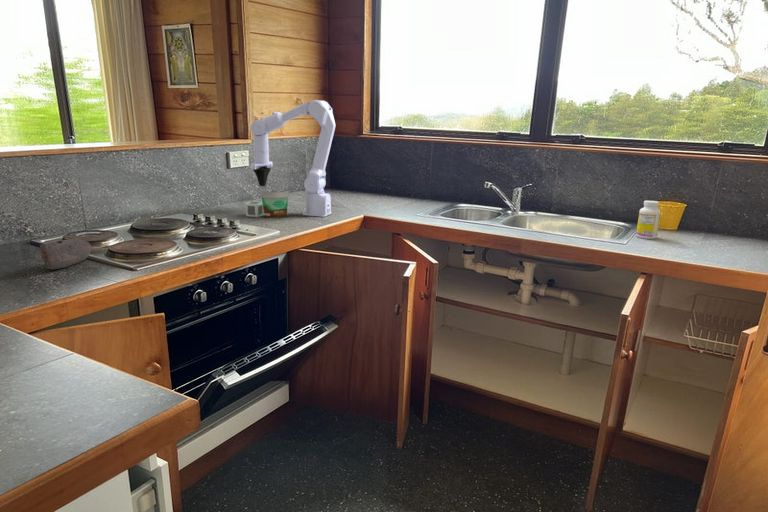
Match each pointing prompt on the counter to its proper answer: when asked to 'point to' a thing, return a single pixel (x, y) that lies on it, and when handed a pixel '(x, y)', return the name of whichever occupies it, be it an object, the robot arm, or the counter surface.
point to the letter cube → (254, 209)
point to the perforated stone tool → (64, 253)
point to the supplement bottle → (648, 220)
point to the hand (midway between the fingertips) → (262, 185)
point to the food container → (275, 204)
